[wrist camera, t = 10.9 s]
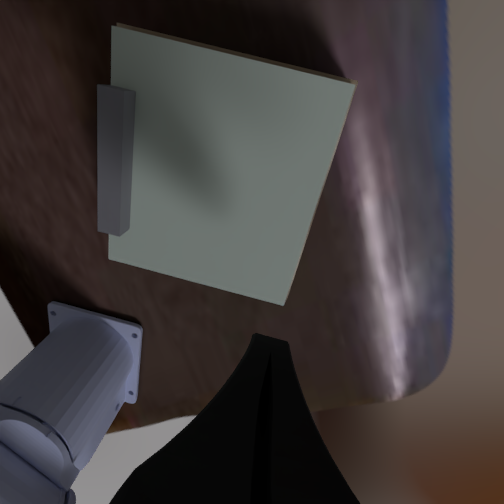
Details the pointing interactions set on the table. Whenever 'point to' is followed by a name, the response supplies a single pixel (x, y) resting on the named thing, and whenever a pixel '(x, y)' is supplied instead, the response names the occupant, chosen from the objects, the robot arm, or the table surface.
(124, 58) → the lid
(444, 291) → the table surface
